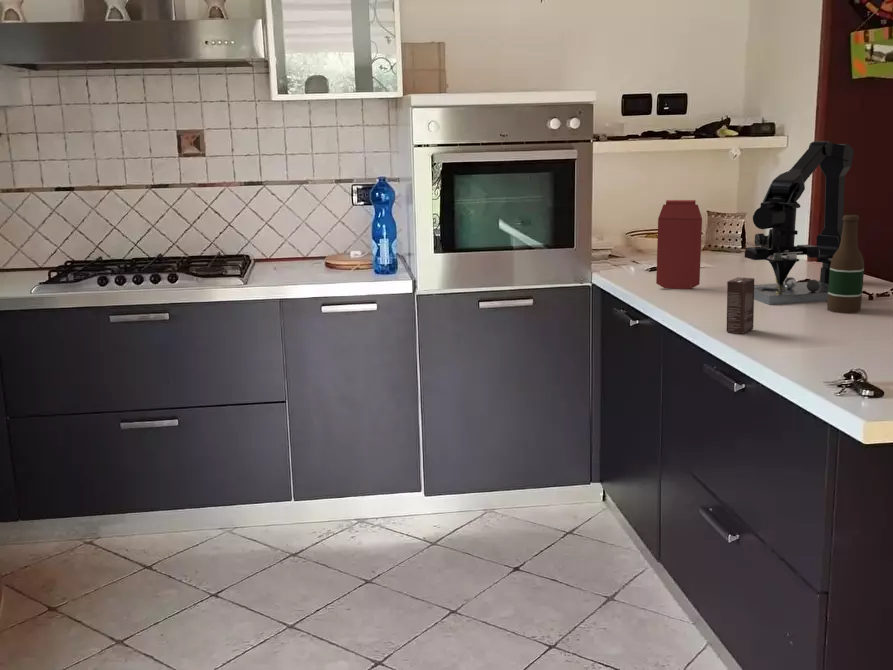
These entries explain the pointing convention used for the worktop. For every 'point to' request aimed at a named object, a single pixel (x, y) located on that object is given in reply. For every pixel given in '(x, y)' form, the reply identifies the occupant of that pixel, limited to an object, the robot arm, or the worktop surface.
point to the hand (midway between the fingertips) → (780, 284)
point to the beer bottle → (846, 271)
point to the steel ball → (789, 282)
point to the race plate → (789, 293)
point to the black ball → (813, 285)
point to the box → (740, 305)
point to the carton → (679, 245)
